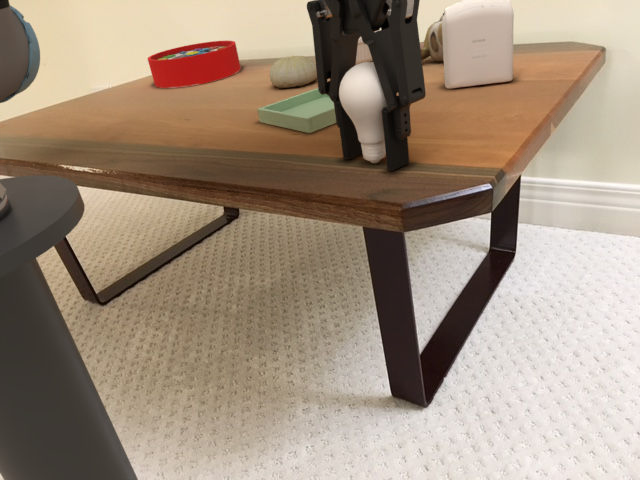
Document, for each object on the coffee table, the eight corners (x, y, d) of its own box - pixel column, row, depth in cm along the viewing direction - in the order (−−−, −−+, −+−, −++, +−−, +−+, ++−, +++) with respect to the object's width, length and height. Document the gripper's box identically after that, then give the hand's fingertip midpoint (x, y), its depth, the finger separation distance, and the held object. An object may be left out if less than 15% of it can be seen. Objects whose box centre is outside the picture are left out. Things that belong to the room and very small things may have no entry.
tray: (309, 133, 74) (307, 118, 73) (259, 122, 83) (257, 108, 82) (376, 106, 81) (375, 92, 80) (324, 98, 90) (322, 86, 89)
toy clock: (128, 62, 120) (186, 43, 134) (136, 89, 122) (192, 67, 137) (197, 58, 110) (252, 38, 125) (204, 87, 113) (257, 64, 128)
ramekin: (337, 57, 120) (334, 32, 118) (387, 53, 116) (384, 27, 114) (322, 69, 111) (318, 42, 109) (375, 65, 107) (372, 37, 105)
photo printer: (444, 91, 83) (441, 4, 77) (443, 84, 87) (440, 1, 81) (515, 83, 81) (517, -6, 75) (510, 76, 85) (512, -9, 79)
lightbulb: (348, 176, 59) (335, 73, 53) (347, 156, 64) (335, 61, 59) (404, 169, 58) (397, 64, 53) (399, 149, 63) (392, 53, 58)
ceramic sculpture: (491, 0, 99) (451, 21, 90) (492, 48, 103) (454, 73, 95) (439, 4, 106) (397, 24, 97) (443, 49, 110) (403, 72, 101)
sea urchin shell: (305, 78, 96) (274, 47, 96) (285, 109, 102) (255, 79, 102) (330, 66, 103) (300, 36, 103) (310, 95, 108) (281, 67, 108)
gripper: (461, -94, 45) (466, 164, 56) (315, -66, 59) (342, 137, 70) (401, -85, 41) (419, 190, 52) (259, -57, 55) (297, 156, 66)
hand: (375, 159), depth 61 cm, fingers open, 6 cm apart
